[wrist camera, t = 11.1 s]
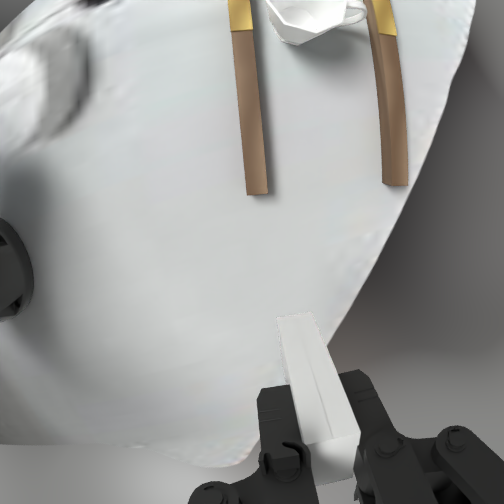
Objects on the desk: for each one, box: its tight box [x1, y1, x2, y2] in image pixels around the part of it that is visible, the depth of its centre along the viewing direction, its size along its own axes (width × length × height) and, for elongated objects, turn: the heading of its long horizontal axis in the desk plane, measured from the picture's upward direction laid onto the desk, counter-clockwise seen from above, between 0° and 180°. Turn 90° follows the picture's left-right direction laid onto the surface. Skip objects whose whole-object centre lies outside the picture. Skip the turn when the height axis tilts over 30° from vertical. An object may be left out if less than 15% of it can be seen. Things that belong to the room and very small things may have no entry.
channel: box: [228, 0, 408, 195], centre depth 27 cm, size 17×30×3 cm, turn 5°
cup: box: [266, 0, 367, 46], centre depth 23 cm, size 7×10×8 cm
